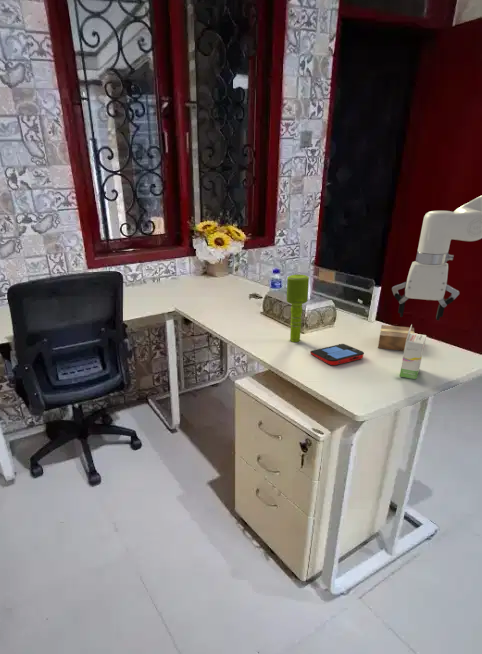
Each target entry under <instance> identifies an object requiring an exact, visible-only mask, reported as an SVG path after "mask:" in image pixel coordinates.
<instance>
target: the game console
mask: <svg viewBox="0 0 482 654" xmlns="http://www.w3.org/2000/svg"><path fill="white" fill-rule="evenodd" d="M309 353H310V354H311V355H312V356H314V357H315V358H317V359H319V360H321V361H322V362H324V363H326V364H327V365H329V366H338V365H342V364H343V365H344V364H346V363H350V362H355V361H358V360H361V359H363V358H364V354H365V351H363V350H360V349H358V348H355V347H353V346H351V345H348V344H345V343H338V344H335V345H331V346H325V347H322V348H318V349H313V350H310V351H309Z"/></svg>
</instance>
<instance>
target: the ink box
mask: <svg viewBox="0 0 482 654" xmlns="http://www.w3.org/2000/svg"><path fill="white" fill-rule="evenodd" d="M411 328H413V324H411V325H410V329H409V331H408V335H407V339H406V344H405V349H404V351H403V355H402V362H401V366H400V371H399V377H400V378H406V379H412V380H417V378H418V375H419V372H420V368H421V363H422V359H423V355H424V350H425V345H426V342H427V341H426V340H427V335H426V334H420V333H419V334H418V333H414V334H413V333H410V331H411Z"/></svg>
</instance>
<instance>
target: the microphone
mask: <svg viewBox="0 0 482 654" xmlns="http://www.w3.org/2000/svg"><path fill="white" fill-rule="evenodd" d="M286 279H287V280H286V302H287V303H288V304H291V306H290V314H291V315H290V319H289V320H290V323H289V325H290V334H289V335H290V336H289V337H290V339H289V341H290V342H292V343H298V342H300V341H301V331H302V330H301V329H302V328H301V327H302V322H303V321H302V317H303V316H302V314H303V305H304V304H306V303H307V302H308V299H309V284H310V282H309V281H310V276H308V275H306V274H291V275H289V276H287V278H286Z"/></svg>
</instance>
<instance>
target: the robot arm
mask: <svg viewBox="0 0 482 654" xmlns="http://www.w3.org/2000/svg"><path fill="white" fill-rule="evenodd" d="M481 239H482V195H480V196H478V197H476V198H474V199H472V200H469V202H467V203H464V204H463V205H461V206H460V207H457V208H456V209H455V210H454V211H452V210H451V211H450V210H431V211H428V212H426V213H425V215H424V216H423V220H422V225H421V230H420V235H419V241H418V247H417V252H416V257H415V260H414V261H412V262H411V265H410V268H409V271H408V275H407V278H406V281H404V282H402V283H399V284H396V285H394V286H392V287H391V291H392V294H393V296H394V298H395V299H396V301H397V302H398V303H399V304H398V311H397V313H398V314H399V317H400V318H403V316H404V311H405V308H406V307H405V306H406V302H407V301H408V300H409V299H412V300H413V299H414V300H426V301H438V303H439V304H438V305H437V310H436V315H435V319H436V321H440V319H441V318H442V317H444V311H445V308H447V306H448V305H450V304H452V303H453V302H454V301H455V300H456V299H457V298H458V296H459V295H460V291H459V290H458V289H456V288H454V287H453V286H451V285H449V284H448V275H449V263H447V262H448V261H453V260H454V254H450V253H449V250H450V245H451V241H452V240H455V241H462V242H476V241H479V240H481ZM402 289H404V294H403V295H401V294H400V293H399V290H402ZM446 292H449V293H450V296H448V297H447V298H445V294H446Z"/></svg>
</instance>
